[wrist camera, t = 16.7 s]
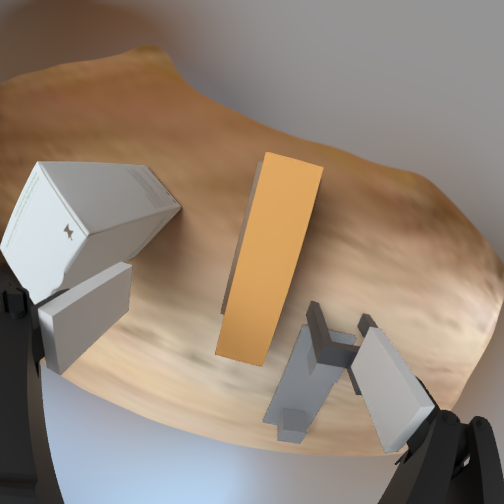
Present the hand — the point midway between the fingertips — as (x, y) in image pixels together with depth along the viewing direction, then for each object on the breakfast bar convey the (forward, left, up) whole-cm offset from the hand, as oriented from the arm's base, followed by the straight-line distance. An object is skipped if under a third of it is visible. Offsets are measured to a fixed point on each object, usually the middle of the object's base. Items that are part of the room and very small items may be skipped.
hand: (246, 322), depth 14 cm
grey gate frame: (+9, -4, -14) cm, 17 cm away
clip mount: (+9, -14, -14) cm, 22 cm away
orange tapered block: (0, +1, -10) cm, 10 cm away
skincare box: (-14, +1, -14) cm, 20 cm away
